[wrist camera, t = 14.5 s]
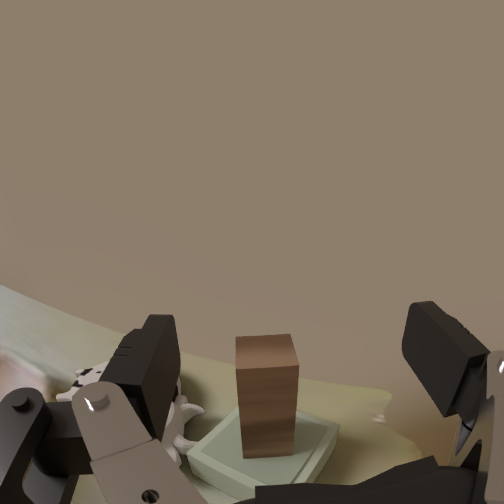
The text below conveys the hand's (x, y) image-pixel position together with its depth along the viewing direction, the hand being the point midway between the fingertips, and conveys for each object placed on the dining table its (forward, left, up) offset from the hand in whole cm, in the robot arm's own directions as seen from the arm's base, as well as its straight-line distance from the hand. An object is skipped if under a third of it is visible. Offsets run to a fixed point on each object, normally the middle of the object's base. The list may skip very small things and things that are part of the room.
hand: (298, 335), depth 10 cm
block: (+9, +7, -19) cm, 23 cm away
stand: (+9, +7, -24) cm, 26 cm away
